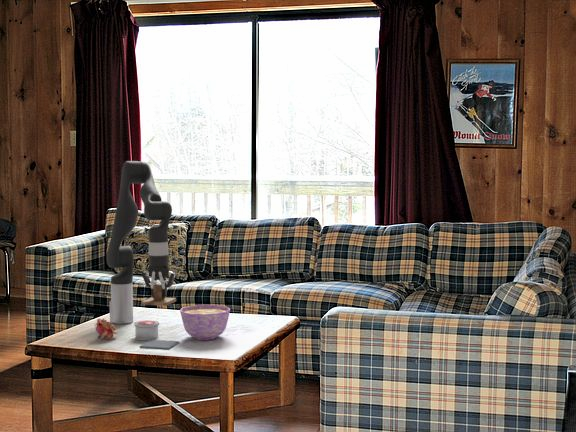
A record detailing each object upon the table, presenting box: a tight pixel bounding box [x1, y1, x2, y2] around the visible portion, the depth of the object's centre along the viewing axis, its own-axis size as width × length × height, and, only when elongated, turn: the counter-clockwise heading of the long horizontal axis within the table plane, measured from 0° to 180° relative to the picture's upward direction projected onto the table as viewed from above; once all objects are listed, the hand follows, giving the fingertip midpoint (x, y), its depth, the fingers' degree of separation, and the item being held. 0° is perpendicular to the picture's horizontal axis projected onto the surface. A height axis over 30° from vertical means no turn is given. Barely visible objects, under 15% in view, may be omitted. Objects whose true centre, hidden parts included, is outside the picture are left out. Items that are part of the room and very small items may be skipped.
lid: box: [141, 283, 177, 307], centre depth 321 cm, size 10×10×7 cm
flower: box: [94, 318, 119, 340], centre depth 334 cm, size 10×9×8 cm
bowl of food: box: [179, 304, 231, 341], centre depth 335 cm, size 20×20×12 cm
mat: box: [139, 339, 180, 350], centre depth 323 cm, size 12×11×1 cm
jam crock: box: [133, 319, 160, 341], centre depth 336 cm, size 10×10×6 cm
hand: (159, 297), depth 321 cm, fingers closed on lid, 3 cm apart
